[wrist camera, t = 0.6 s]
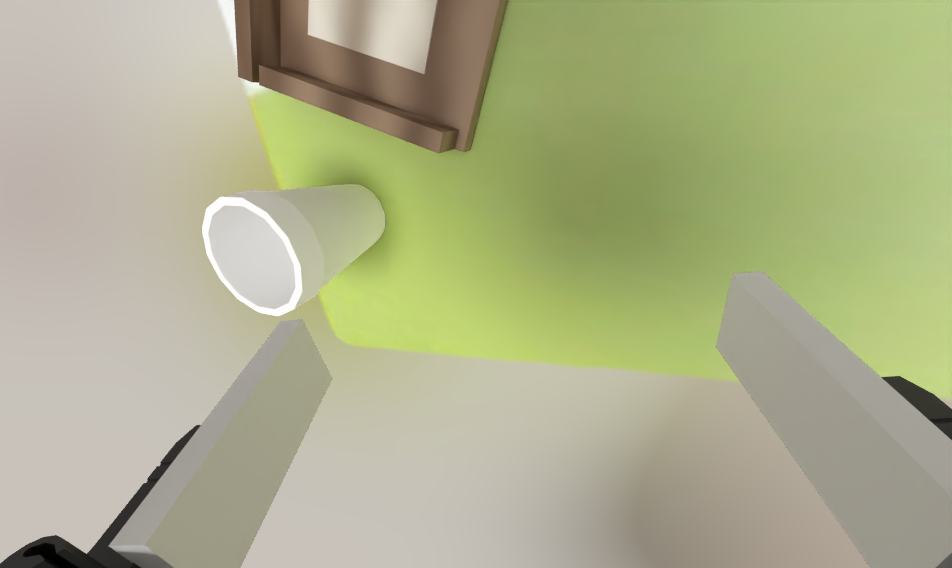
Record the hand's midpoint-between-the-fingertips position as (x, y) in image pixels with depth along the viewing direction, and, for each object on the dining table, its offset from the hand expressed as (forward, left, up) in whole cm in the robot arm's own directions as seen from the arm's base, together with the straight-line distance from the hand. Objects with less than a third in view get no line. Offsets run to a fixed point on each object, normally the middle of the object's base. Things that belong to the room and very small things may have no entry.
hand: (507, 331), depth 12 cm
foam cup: (+18, -14, -22) cm, 31 cm away
